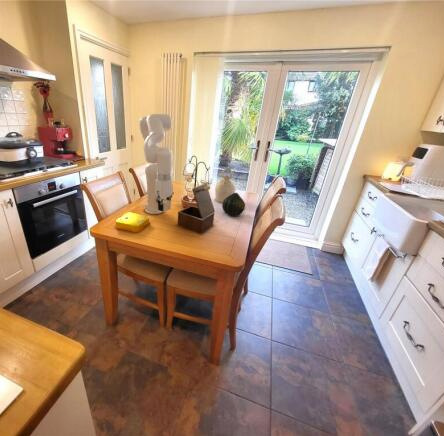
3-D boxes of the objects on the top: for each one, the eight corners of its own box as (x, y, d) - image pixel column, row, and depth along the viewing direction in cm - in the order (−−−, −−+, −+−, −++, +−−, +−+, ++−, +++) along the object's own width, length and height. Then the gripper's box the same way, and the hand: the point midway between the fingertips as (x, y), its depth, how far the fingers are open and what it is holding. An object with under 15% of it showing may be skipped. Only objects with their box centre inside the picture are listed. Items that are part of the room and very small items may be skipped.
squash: (226, 212, 147) (242, 193, 146) (214, 204, 160) (229, 187, 159) (239, 223, 155) (253, 205, 154) (226, 215, 167) (240, 199, 167)
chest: (177, 225, 140) (178, 211, 137) (190, 218, 150) (191, 205, 146) (200, 234, 131) (202, 220, 128) (212, 225, 141) (214, 212, 138)
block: (157, 209, 126) (157, 200, 124) (163, 206, 130) (163, 198, 128) (164, 212, 124) (164, 203, 122) (170, 209, 127) (170, 200, 125)
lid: (191, 188, 125) (199, 186, 122) (205, 183, 135) (212, 181, 132) (201, 219, 128) (209, 218, 124) (213, 211, 138) (221, 210, 134)
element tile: (137, 233, 129) (137, 225, 127) (114, 228, 134) (114, 220, 132) (150, 222, 142) (150, 215, 140) (128, 218, 147) (128, 211, 145)
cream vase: (219, 195, 192) (222, 165, 181) (237, 200, 184) (241, 168, 173) (210, 200, 180) (213, 168, 170) (228, 205, 172) (233, 172, 162)
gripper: (169, 171, 127) (168, 202, 135) (147, 178, 114) (148, 211, 123) (180, 174, 123) (179, 206, 131) (158, 181, 110) (158, 216, 119)
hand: (164, 208), depth 127 cm, fingers closed on block, 5 cm apart
